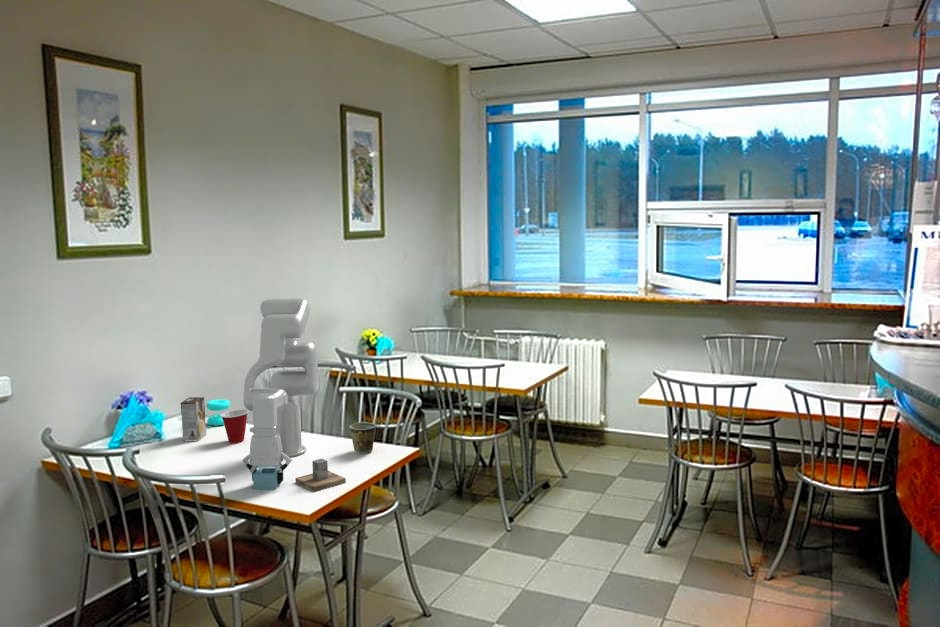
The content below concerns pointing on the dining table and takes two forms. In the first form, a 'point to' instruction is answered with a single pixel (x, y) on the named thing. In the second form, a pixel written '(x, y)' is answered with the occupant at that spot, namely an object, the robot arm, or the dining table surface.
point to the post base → (320, 483)
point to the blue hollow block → (265, 478)
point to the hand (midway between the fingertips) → (268, 482)
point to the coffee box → (193, 418)
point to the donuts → (217, 406)
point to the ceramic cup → (363, 437)
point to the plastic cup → (235, 424)
